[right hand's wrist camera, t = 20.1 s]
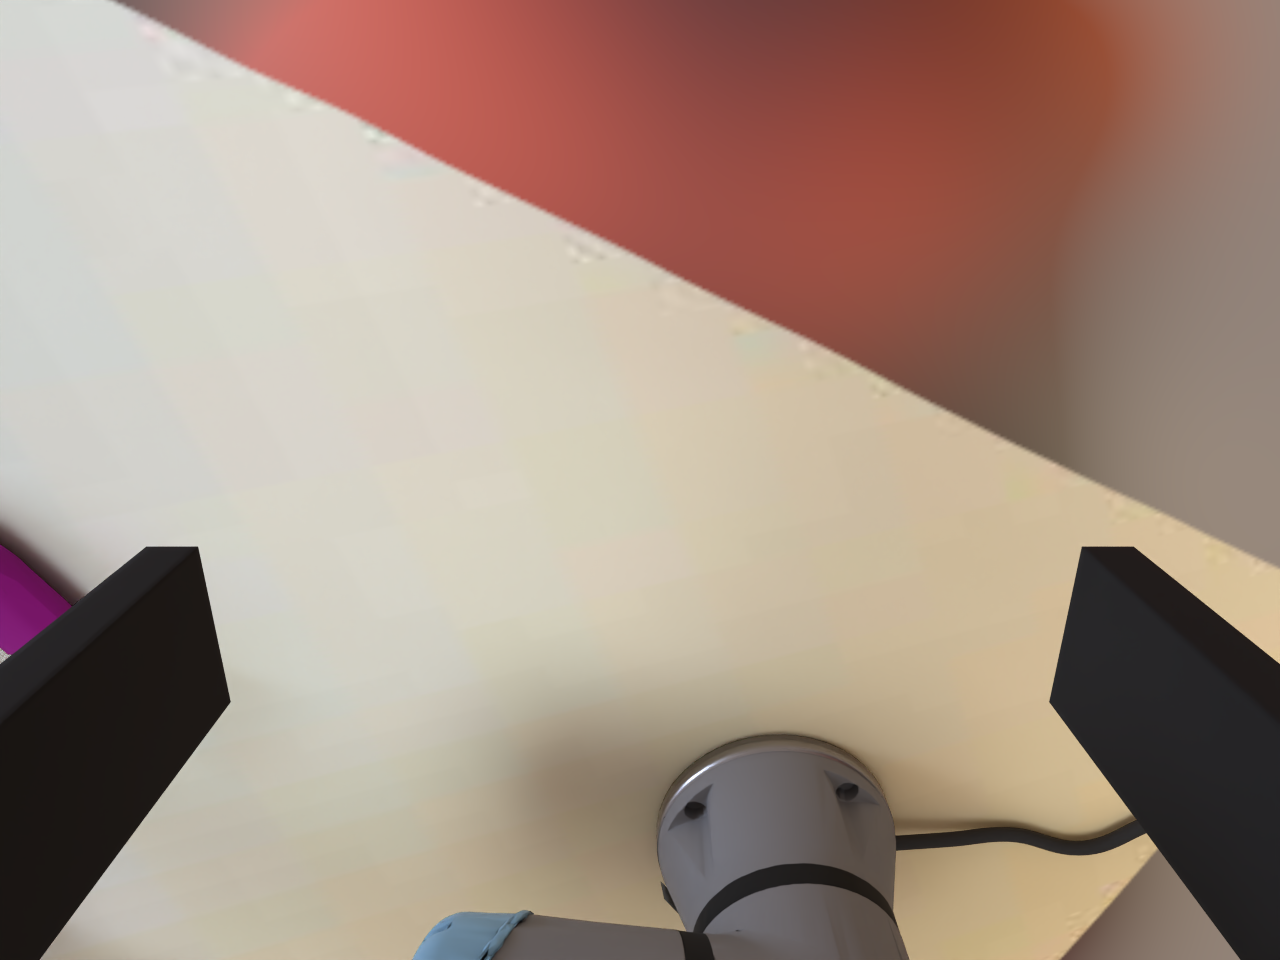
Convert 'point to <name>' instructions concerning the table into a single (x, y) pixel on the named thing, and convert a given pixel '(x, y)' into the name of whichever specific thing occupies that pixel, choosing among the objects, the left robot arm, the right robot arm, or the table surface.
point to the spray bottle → (24, 603)
